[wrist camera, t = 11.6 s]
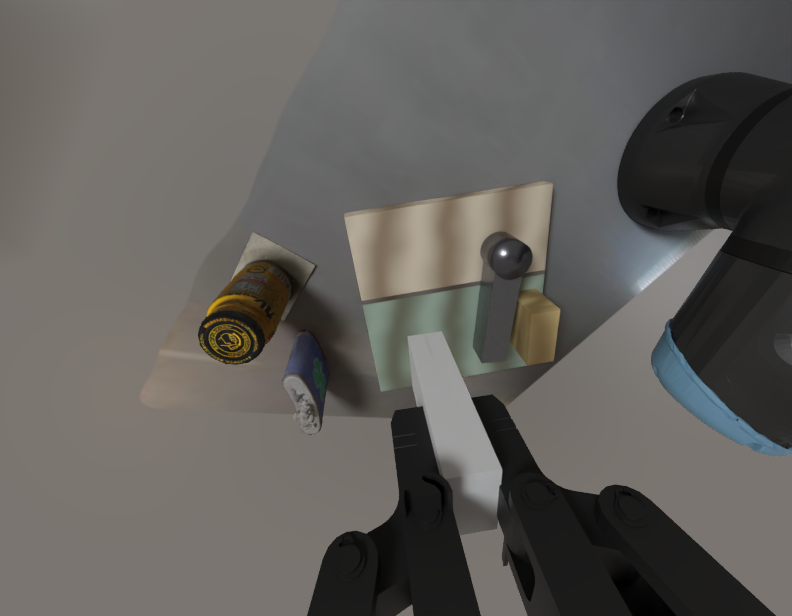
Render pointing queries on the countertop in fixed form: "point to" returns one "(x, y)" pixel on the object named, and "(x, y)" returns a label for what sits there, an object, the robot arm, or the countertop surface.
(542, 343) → the two-tone base plate
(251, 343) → the condiment
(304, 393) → the flask
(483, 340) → the latch bar
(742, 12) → the countertop surface
